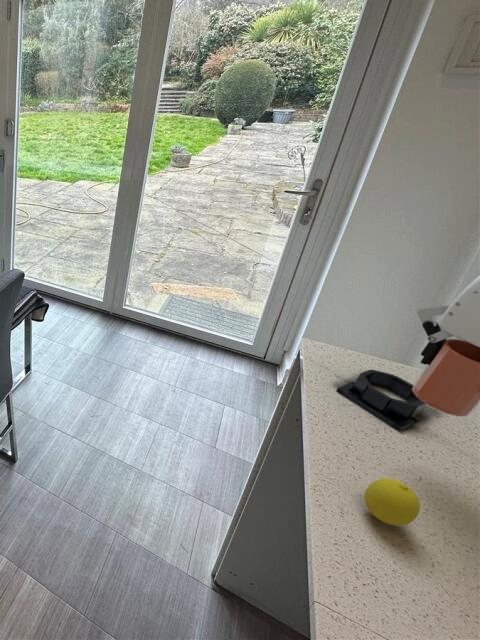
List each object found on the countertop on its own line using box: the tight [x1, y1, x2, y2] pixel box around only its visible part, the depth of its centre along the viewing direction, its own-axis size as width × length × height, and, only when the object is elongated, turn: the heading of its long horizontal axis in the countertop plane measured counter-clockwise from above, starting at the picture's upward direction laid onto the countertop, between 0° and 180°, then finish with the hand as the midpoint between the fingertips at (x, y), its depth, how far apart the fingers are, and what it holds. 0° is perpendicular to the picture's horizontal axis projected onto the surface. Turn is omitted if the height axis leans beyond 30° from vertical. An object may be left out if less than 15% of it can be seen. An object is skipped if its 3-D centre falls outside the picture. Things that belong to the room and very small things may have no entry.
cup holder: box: [335, 369, 427, 432], centre depth 83 cm, size 11×11×4 cm
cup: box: [412, 338, 480, 417], centre depth 65 cm, size 7×7×10 cm
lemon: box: [363, 477, 421, 527], centre depth 62 cm, size 6×6×8 cm
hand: (458, 376), depth 65 cm, fingers closed on cup, 6 cm apart
